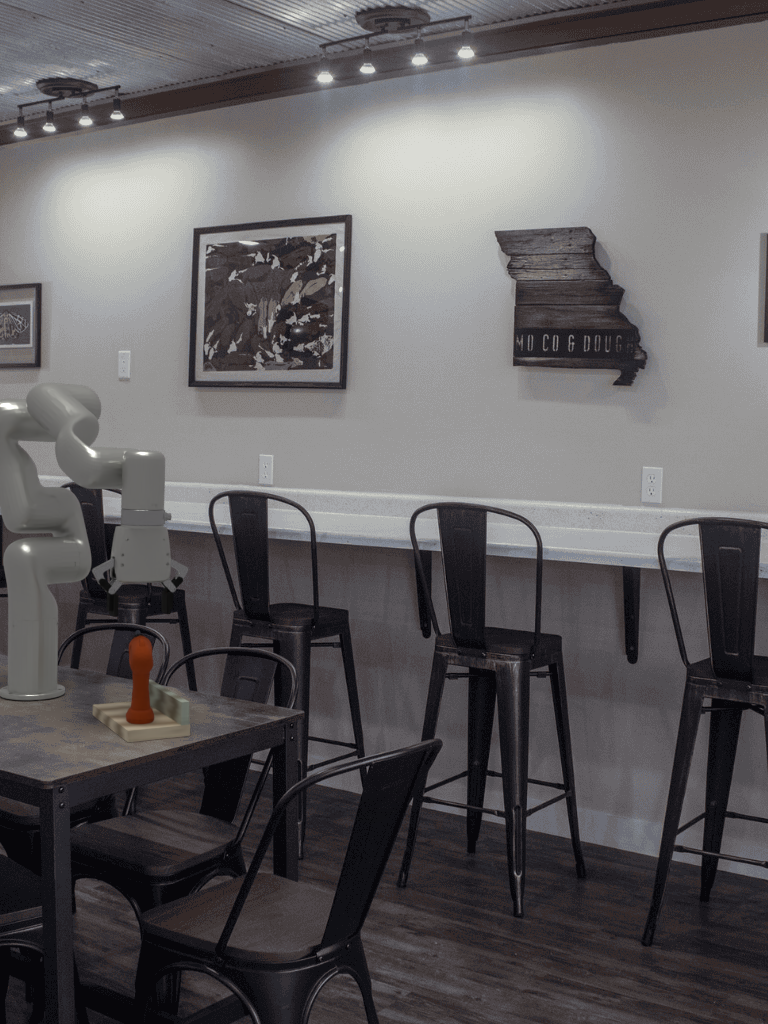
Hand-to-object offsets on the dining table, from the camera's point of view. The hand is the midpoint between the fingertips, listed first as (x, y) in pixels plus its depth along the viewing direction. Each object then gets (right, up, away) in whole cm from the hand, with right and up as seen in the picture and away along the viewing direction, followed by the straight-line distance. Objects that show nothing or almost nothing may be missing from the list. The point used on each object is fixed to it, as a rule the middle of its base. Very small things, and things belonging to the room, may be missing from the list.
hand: (140, 614), depth 197 cm
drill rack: (0, -20, +1) cm, 20 cm away
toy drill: (0, -18, +1) cm, 18 cm away
